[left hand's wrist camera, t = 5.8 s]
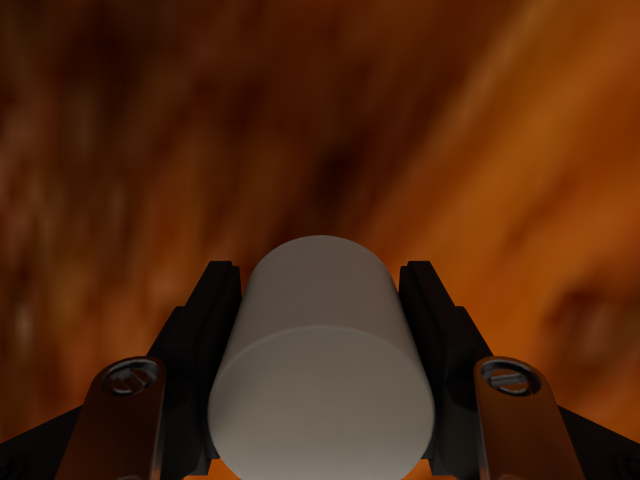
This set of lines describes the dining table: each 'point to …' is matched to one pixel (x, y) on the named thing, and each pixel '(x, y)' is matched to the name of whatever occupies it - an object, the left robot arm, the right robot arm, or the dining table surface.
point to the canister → (321, 371)
